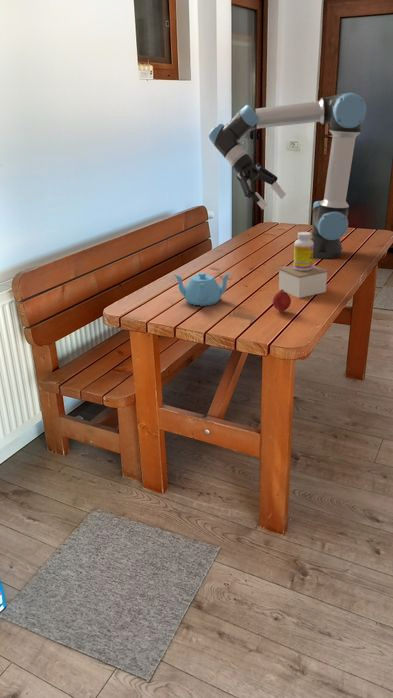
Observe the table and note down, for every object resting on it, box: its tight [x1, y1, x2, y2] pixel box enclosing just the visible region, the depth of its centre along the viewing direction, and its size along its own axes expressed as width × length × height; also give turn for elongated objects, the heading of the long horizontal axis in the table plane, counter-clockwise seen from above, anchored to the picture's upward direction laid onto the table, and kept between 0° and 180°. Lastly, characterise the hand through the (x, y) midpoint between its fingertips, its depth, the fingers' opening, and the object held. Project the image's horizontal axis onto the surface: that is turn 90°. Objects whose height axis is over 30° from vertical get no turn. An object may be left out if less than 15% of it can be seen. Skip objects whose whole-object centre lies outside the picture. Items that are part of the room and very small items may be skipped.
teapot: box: [173, 271, 232, 307], centre depth 200 cm, size 15×15×10 cm
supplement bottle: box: [293, 231, 314, 271], centre depth 202 cm, size 7×7×13 cm
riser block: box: [278, 264, 329, 299], centre depth 207 cm, size 12×12×8 cm
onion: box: [272, 289, 292, 313], centre depth 187 cm, size 6×6×8 cm
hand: (274, 202), depth 221 cm, fingers open, 13 cm apart
